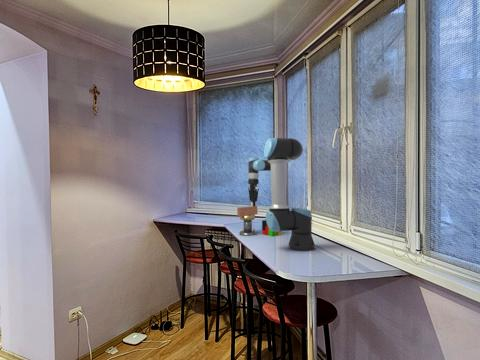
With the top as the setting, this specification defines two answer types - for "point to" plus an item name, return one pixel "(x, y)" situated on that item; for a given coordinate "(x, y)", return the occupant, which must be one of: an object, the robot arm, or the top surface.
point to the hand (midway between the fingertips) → (253, 210)
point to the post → (247, 229)
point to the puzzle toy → (267, 231)
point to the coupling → (247, 212)
